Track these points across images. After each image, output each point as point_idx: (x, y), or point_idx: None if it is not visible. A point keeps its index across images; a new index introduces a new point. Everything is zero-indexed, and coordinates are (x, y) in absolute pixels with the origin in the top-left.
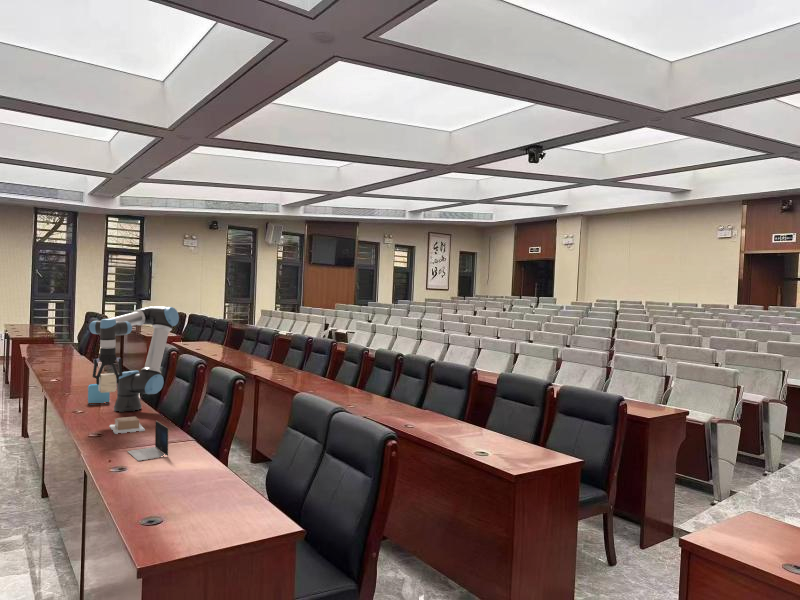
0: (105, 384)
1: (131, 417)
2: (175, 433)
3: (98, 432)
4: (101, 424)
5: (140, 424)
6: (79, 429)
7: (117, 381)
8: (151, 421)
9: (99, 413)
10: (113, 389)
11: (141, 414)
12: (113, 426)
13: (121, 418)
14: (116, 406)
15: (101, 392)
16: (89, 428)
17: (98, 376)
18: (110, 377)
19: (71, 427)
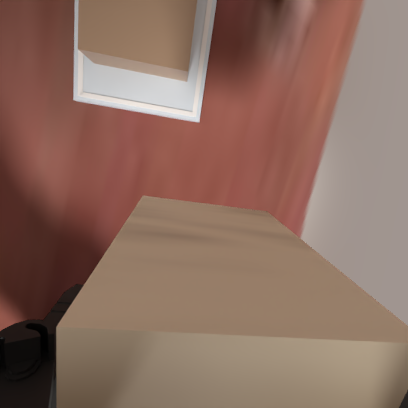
0: (256, 238)
1: (105, 33)
2: None
3: (267, 37)
4: (210, 187)
5: (74, 31)
6: (301, 148)
7: None
8: (8, 116)
9: None
10: (161, 204)
11: (27, 281)
12: (195, 75)
13: (160, 44)
14: None
15: (265, 211)
16: (268, 142)
17: (405, 400)
18: (207, 291)
19: (308, 200)
